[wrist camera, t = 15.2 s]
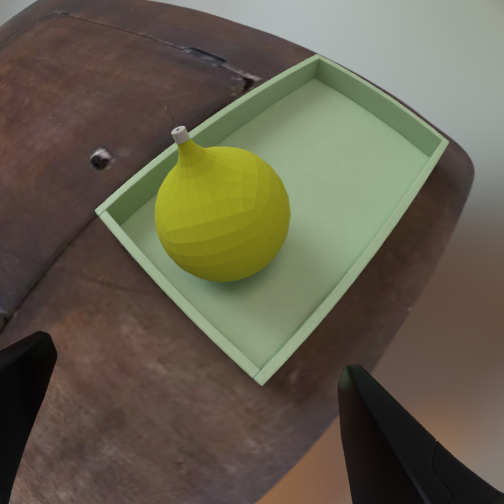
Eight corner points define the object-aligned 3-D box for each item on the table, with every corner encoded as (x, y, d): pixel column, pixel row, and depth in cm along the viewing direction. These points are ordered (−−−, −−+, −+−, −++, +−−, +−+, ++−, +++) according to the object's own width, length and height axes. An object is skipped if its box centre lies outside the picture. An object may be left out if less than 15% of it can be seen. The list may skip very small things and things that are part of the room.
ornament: (177, 191, 21) (139, 78, 11) (280, 192, 21) (302, 74, 11) (166, 293, 18) (93, 220, 9) (283, 296, 18) (322, 221, 9)
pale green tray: (433, 162, 23) (449, 141, 20) (259, 382, 17) (262, 386, 14) (312, 77, 26) (317, 53, 23) (112, 230, 20) (94, 210, 17)
